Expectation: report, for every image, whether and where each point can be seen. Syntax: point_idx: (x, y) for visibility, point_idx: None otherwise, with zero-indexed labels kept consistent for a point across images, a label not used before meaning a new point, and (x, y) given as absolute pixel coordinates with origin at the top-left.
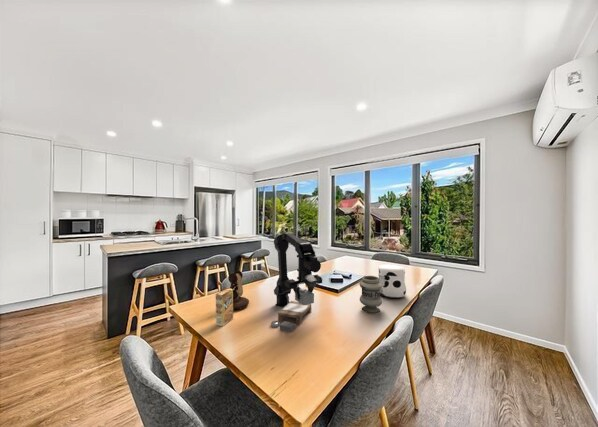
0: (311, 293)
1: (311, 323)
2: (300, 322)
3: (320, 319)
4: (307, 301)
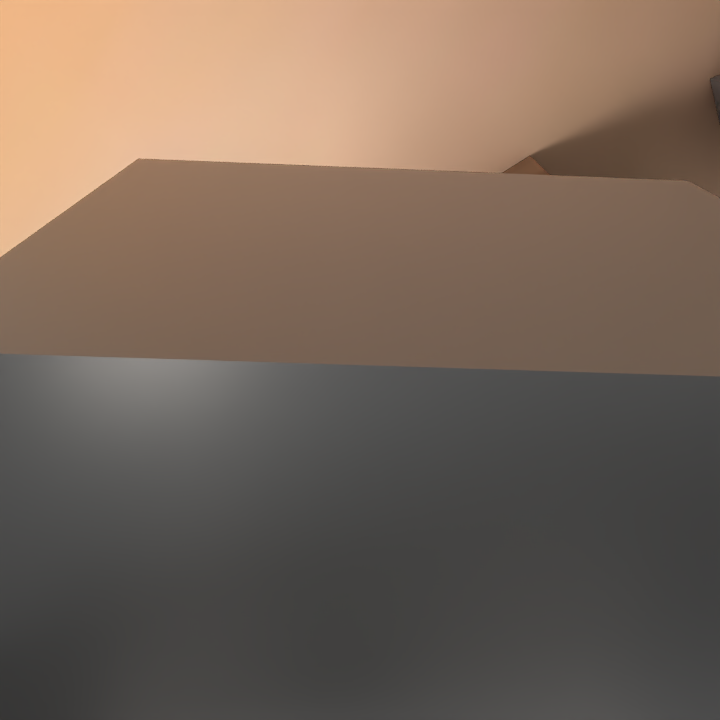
0: (87, 500)
1: (326, 63)
2: (538, 166)
3: (65, 96)
4: (522, 211)
